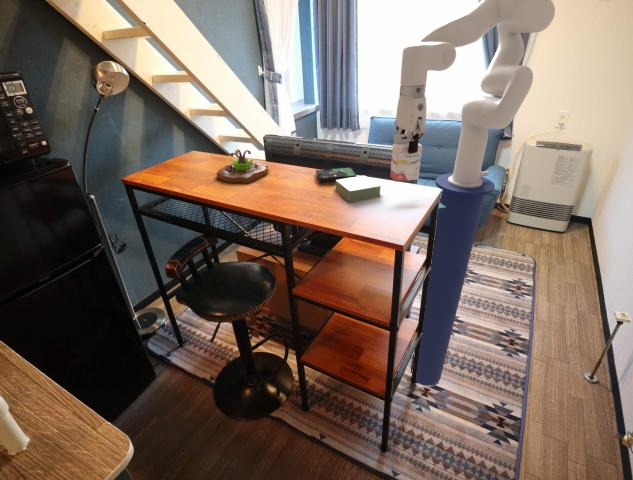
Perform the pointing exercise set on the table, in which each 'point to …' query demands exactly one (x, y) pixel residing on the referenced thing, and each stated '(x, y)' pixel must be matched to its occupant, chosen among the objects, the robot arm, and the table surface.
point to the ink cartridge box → (404, 160)
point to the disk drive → (334, 174)
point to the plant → (242, 170)
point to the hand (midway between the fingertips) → (407, 149)
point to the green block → (357, 188)
